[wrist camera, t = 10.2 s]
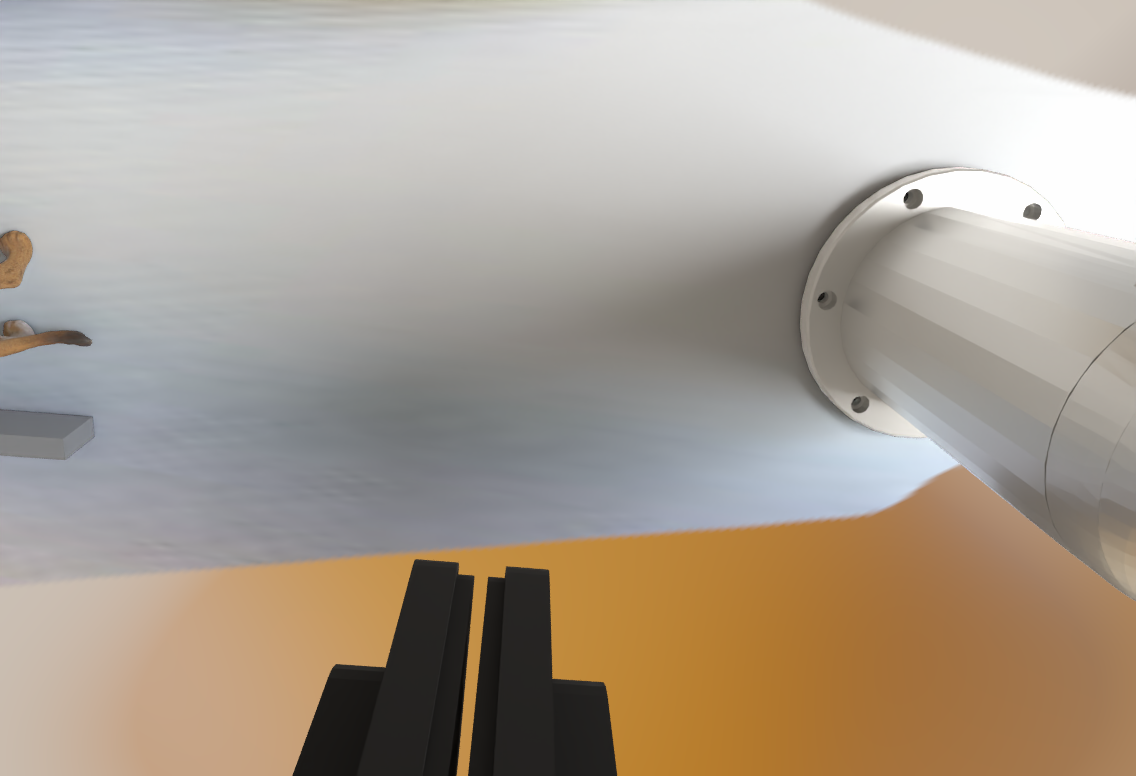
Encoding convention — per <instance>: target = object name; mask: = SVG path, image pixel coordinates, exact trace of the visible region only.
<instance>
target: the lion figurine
mask: <svg viewBox="0 0 1136 776" xmlns="http://www.w3.org/2000/svg"><path fill="white" fill-rule="evenodd" d="M0 250H1V251H2V253H3V254H4V255H5V256H6V260H5V261H4V262H2V263H0V289H5V288H15V287H17V286H19V285H20V283H21V281H22V278H23V274H24V271H25V269H26V267H27V265H28V263H29V261H30V259H31V257H32V245H31V242H30V240H29V238H28V237H27V235H26V234H24V233H22V232H19V231H11V232H8V233H6V234H4V236H3V237H2V238H0ZM3 335H4V336H0V357H4V356H7V355H11V354H14V353H18V352H21V351H24V350H26V349H29V348H33V347H37V346H42V345H50V344H56V343H64V344H75V345H79V346H90V345H91V344H92V340H91V339H89V338H88V337H86V336H85V335H84V334H82V333H81V332H78V331H50V332H45V333H41V334H35V333H34V331H33V330H32V328H31V327H30V326H29V325H28V324H27V323H25V322H24V321H22V320H14V321H7V322H6V323H4V330H3Z"/></svg>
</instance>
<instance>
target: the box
mask: <svg viewBox="0 0 1136 776" xmlns="http://www.w3.org/2000/svg"><path fill="white" fill-rule="evenodd" d="M92 438H94V427H93V417H88V416H75V415H63V414H50V413H37V412H24V411H11V410H0V455H2V456H16V457H30V458H44V459H57V460H66V459H67V458H69V457H70V456H71V455H72V454H74V453H75V452H76V451H77V450H79V449H80V448H81V447H82V446H84V445H85V444H86V443H87V442H89V441H90V440H91V439H92Z"/></svg>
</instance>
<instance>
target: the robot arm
mask: <svg viewBox="0 0 1136 776" xmlns="http://www.w3.org/2000/svg"><path fill="white" fill-rule="evenodd" d="M906 192H908V199H907V200H906V201H905V202H903V201H904V196H905V194H906ZM1023 210H1024V212H1023ZM823 292H824V293H825V296H824V298H823V299H822V300H821V301H818V298H819V296H820V294H822V293H823ZM800 331H801V340H802V348H803V352H804V355H805V358H806V361H807V364H808V367H809V370H810V372H811V374H812V376H813V377H814V379H815V381H816V382H817V384H818V386H819V387H820V389H821V391H822V392H823V393H824V394H825V395H826V396H827V397H828V398H829V399H830V400H831V401H832V402H833V403H834V405H835V406H836V407H838V408H839V409H840V410H841V411H842V412H843V413H844V414H846V415H847V416H848V417H849V418H851V419H852V420H854V421H856V422H858V423H859V424H861V425H863V426H865V427H867V428H869V429H871V430H873V431H877V432H880V433H884V434H887V435H891V436H894V437H906V438H929V439H930V440H931V441H933V442H934V443H935V444H936V445H938V446H939V447H940V448H941V449H943V450H944V451H945V452H946V453H948V454H949V455H950V456H951V457H952V458H954V459H955V460H956V461H957V462H959V463H960V464H961V465H962V466H964V467H965V468H966V469H967V470H969V471H970V472H971V473H972V474H974V475H975V476H976V477H977V478H978V479H980V480H981V481H982V482H983V483H985V484H986V485H987V486H988V487H990V488H991V489H992V490H993V491H994V492H996V493H997V494H998V495H999V496H1001V497H1002V498H1003V499H1004V500H1006V501H1007V502H1008V503H1009V504H1010V505H1012V506H1013V507H1014V508H1015V509H1017V510H1018V511H1019V512H1020V513H1022V514H1023V515H1024V516H1025V517H1027V518H1028V519H1029V520H1030V521H1032V522H1033V523H1034V524H1035V525H1037V526H1038V527H1039V528H1040V529H1041V530H1043V531H1044V532H1045V533H1046V534H1048V535H1049V536H1050V537H1052V538H1053V539H1054V540H1055V541H1056V542H1057V543H1059V544H1060V545H1061V546H1062V547H1064V548H1065V549H1066V550H1068V551H1069V552H1070V553H1071V554H1073V555H1074V556H1075V557H1077V558H1078V559H1079V560H1081V561H1082V562H1083V563H1084V564H1086V565H1087V566H1088V567H1090V568H1091V569H1092V570H1093V571H1095V572H1096V573H1097V574H1098V575H1100V576H1101V577H1102V578H1104V579H1105V580H1106V581H1107V582H1108V583H1110V584H1111V585H1112V586H1114V587H1115V588H1116V589H1118V590H1119V591H1121V592H1122V593H1124V594H1125V595H1127V596H1128V597H1130V598H1131V599H1133V600H1135V601H1136V243H1134V242H1130V241H1125V240H1121V239H1116V238H1112V237H1107V236H1103V235H1099V234H1094V233H1090V232H1085V231H1081V230H1076V229H1072V228H1067V227H1065V224H1064V222H1063V220H1062V219H1061V218H1060V216H1059V215H1058V214H1057V212H1056V211H1055V210H1054V208H1053V207H1052V206H1051V204H1050V203H1049V202H1048V201H1047V200H1046V199H1045V198H1044V197H1042V196H1041V195H1040V194H1039V193H1038V192H1036V191H1035V190H1034V189H1033V188H1032V187H1030V186H1029V185H1027V184H1025V183H1022V182H1020V181H1018V180H1016V179H1014V178H1012V177H1010V176H1008V175H1005V174H1000V173H996V172H992V171H988V170H983V169H975V168H965V167H952V168H940V169H931V170H928V171H924V172H921V173H917V174H914V175H910V176H906V177H904V178H902V179H900V180H898V181H896V182H894V183H892V184H890V185H888V186H886V187H884V188H882V189H880V190H878V191H877V192H876V193H874V194H873V195H871V196H870V197H869V198H867V199H866V200H865V201H863V202H862V203H860V204H859V205H858V206H856V207H855V208H854V209H853V210H852V212H851V213H850V214H849V215H848V216H847V217H846V218H845V219H844V220H843V221H842V222H841V223H840V224H839V225H838V226H837V227H836V228H835V230H834V231H833V233H832V234H831V235H830V237H829V238H828V240H827V241H826V243H825V244H824V245H823V247H822V248H821V250H820V252H819V254H818V256H817V258H816V260H815V262H814V265H813V267H812V269H811V271H810V273H809V276H808V279H807V283H806V287H805V290H804V294H803V298H802V304H801V317H800ZM856 397H857V399H856V400H855V401H854V402H852V401H853V399H855V398H856ZM458 570H459V563H456V562H444V561H430V560H418V559H416V560H415V561H414V564H413V568H412V571H411V575H410V578H409V582H408V586H407V590H406V593H405V597H404V601H403V605H402V609H401V612H400V616H399V619H398V623H397V627H396V631H395V634H394V639H393V642H392V646H391V649H390V653H389V657H388V661H387V664H386V668H384V667H369V666H355V665H340V664H336V665H335V666H334V667H333V668H332V670H331V673H330V675H329V677H328V680H327V682H326V685H325V688H324V690H323V693H322V696H321V699H320V702H319V704H318V707H317V710H316V712H315V715H314V718H313V721H312V723H311V726H310V729H309V732H308V735H307V737H306V740H305V743H304V746H303V748H302V751H301V754H300V756H299V759H298V762H297V765H296V767H295V770H294V773H293V776H456V775H457V766H458V757H459V747H460V736H461V724H462V713H463V702H464V690H465V679H466V667H467V656H468V644H469V634H470V622H471V611H472V599H473V587H474V576H472V575H459V574H458ZM550 615H551V614H550V582H549V570H545V569H532V568H520V567H506V573H505V578H498V577H488V585H487V594H486V605H485V614H484V625H483V635H482V644H481V654H480V664H479V674H478V683H477V693H476V704H475V713H474V723H473V733H472V742H471V752H470V763H469V773H468V776H617V771H616V762H615V754H614V746H613V738H612V730H611V722H610V713H609V704H608V698H607V697H608V696H607V691H606V686H605V685H604V683H603V682H591V681H575V680H561V679H552V650H551V616H550Z"/></svg>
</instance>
